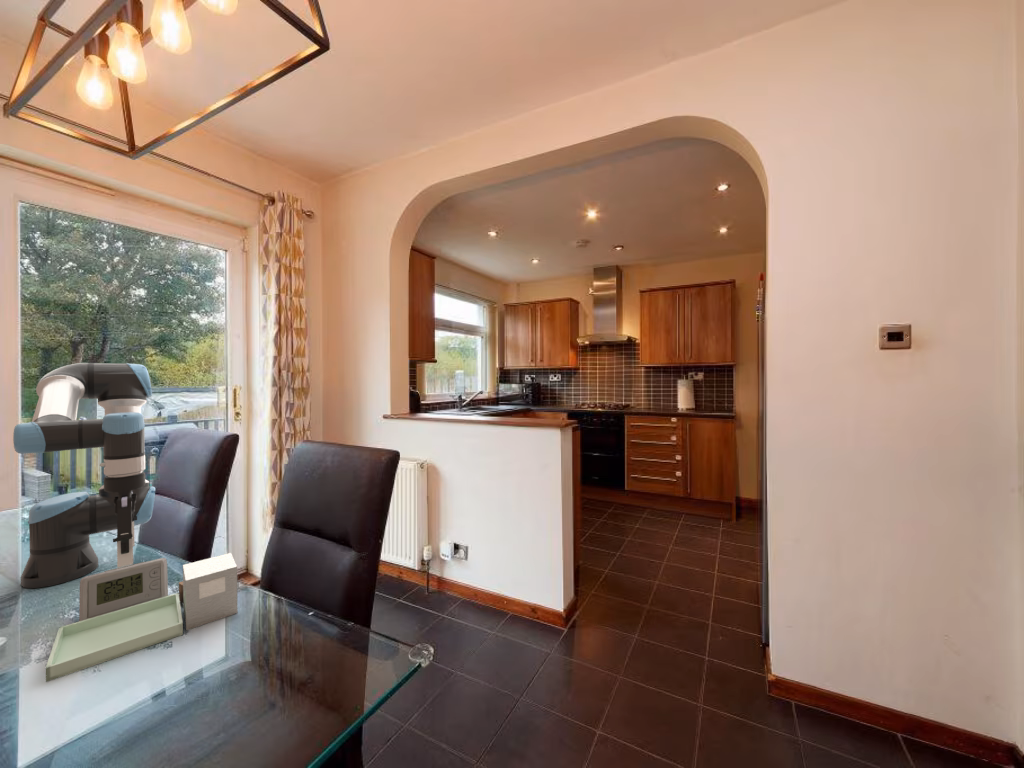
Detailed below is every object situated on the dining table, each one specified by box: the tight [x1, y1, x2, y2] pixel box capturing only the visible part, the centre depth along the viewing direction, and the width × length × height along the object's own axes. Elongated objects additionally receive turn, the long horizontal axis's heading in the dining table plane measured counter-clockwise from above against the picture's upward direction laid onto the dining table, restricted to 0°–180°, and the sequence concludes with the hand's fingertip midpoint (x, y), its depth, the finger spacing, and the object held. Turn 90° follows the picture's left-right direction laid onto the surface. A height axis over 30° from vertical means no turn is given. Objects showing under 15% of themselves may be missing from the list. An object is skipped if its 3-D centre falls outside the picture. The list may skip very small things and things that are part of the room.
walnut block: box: [178, 580, 183, 604], centre depth 104 cm, size 5×5×5 cm
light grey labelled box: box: [182, 552, 239, 631], centre depth 99 cm, size 10×10×12 cm
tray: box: [44, 592, 184, 683], centre depth 89 cm, size 17×21×3 cm
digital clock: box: [78, 557, 169, 622], centre depth 100 cm, size 16×9×11 cm, turn 122°
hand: (126, 555), depth 100 cm, fingers open, 13 cm apart
